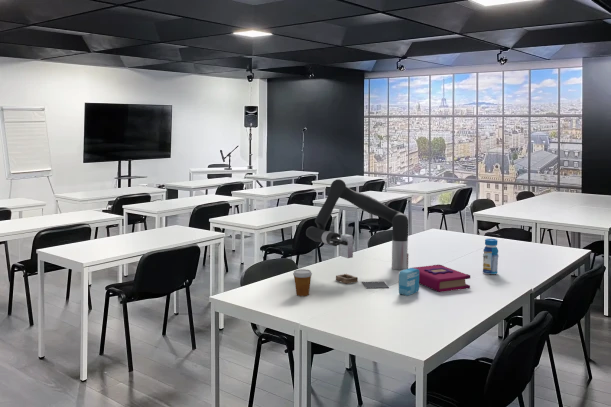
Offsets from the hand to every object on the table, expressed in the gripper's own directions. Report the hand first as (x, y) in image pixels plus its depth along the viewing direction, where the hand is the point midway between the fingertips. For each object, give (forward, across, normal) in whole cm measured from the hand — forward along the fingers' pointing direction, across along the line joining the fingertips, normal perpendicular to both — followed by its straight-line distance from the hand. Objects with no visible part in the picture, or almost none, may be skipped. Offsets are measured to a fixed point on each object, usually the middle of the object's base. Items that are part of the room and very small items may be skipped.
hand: (350, 243), depth 301 cm
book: (+30, +37, +22) cm, 53 cm away
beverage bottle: (+32, +78, +22) cm, 87 cm away
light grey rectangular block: (-3, 0, +8) cm, 8 cm away
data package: (+34, +11, +22) cm, 42 cm away
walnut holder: (-3, 0, +22) cm, 22 cm away
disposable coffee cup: (+5, -35, +22) cm, 41 cm away
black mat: (+13, +7, +22) cm, 26 cm away
